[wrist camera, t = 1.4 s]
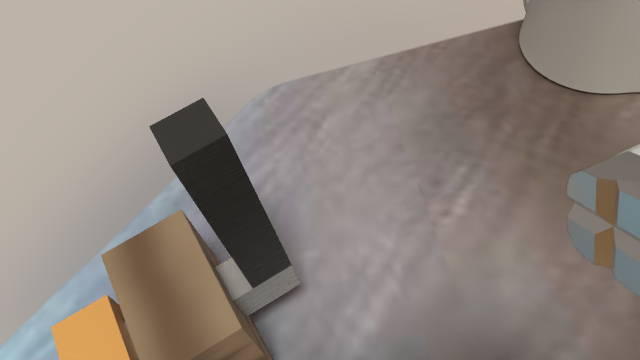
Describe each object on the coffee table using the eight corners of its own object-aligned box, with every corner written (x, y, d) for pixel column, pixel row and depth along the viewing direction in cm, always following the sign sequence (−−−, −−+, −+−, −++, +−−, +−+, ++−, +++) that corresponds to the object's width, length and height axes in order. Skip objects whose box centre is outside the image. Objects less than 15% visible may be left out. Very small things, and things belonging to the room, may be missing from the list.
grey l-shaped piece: (281, 253, 41) (203, 97, 28) (300, 283, 40) (227, 134, 26) (85, 371, 39) (-109, 264, 25) (96, 409, 37) (-106, 317, 23)
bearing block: (226, 272, 46) (181, 209, 38) (281, 375, 40) (241, 327, 32) (161, 311, 45) (101, 255, 37) (208, 422, 39) (148, 385, 31)
